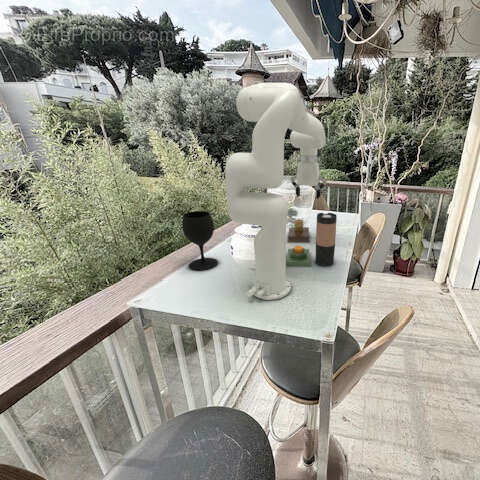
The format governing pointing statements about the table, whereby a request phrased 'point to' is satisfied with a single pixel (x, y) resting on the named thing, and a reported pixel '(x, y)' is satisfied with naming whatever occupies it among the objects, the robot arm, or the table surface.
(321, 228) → the travel mug
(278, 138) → the robot arm
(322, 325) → the table surface
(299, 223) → the dimmer knob
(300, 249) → the power button
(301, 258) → the switch block
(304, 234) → the dimmer console
